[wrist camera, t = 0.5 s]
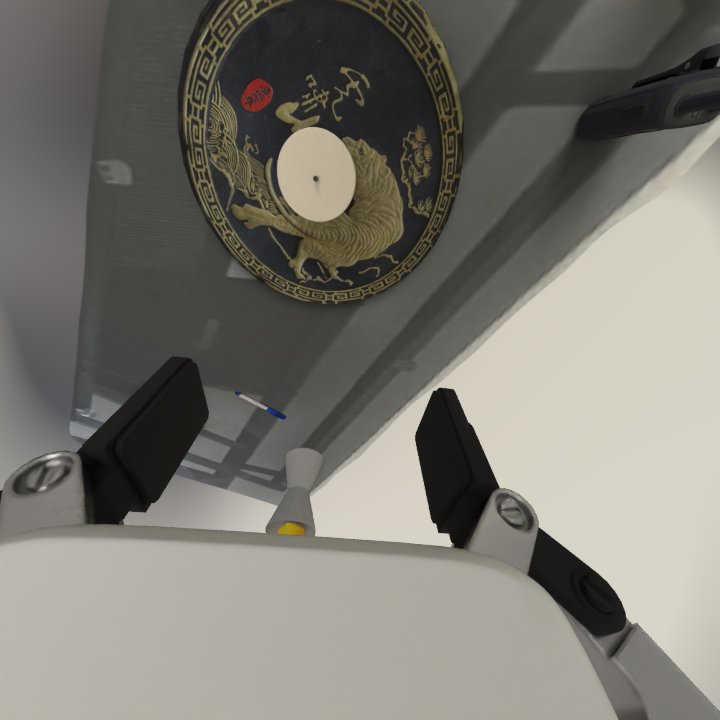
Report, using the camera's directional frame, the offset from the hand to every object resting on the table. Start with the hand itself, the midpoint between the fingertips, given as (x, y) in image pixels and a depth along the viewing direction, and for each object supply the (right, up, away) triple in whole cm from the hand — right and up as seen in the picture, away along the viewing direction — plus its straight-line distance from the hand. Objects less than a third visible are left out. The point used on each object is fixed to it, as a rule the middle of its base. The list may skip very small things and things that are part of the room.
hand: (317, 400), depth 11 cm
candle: (-2, +21, +18) cm, 28 cm away
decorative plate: (-2, +23, +20) cm, 30 cm away
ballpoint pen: (-17, -7, +41) cm, 44 cm away
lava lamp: (-11, -21, +50) cm, 56 cm away
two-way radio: (+26, +27, +16) cm, 41 cm away
